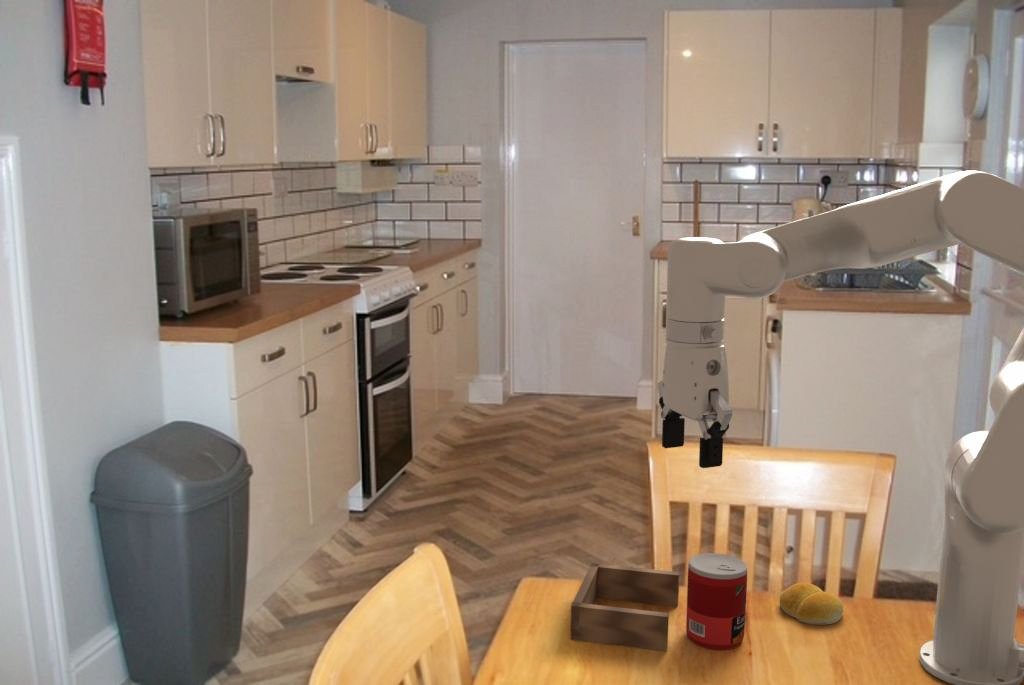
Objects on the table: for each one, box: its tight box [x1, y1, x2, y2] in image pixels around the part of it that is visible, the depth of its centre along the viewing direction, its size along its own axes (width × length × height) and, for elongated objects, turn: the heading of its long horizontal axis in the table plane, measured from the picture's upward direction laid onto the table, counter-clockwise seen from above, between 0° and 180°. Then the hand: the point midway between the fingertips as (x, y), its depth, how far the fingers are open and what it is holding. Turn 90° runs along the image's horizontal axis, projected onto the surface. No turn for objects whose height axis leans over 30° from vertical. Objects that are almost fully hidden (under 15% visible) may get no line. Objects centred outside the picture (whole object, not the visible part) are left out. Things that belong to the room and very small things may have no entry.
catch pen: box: [570, 562, 680, 652], centre depth 151 cm, size 13×15×5 cm
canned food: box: [685, 552, 748, 651], centre depth 146 cm, size 8×8×11 cm
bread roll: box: [778, 581, 844, 625], centre depth 154 cm, size 8×9×4 cm
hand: (691, 456), depth 143 cm, fingers open, 9 cm apart
